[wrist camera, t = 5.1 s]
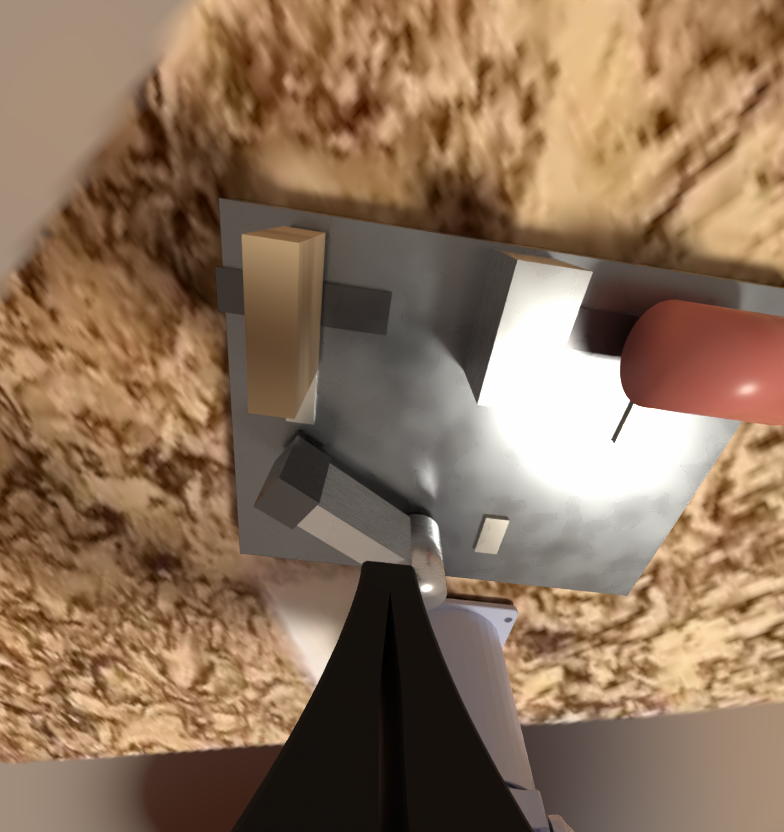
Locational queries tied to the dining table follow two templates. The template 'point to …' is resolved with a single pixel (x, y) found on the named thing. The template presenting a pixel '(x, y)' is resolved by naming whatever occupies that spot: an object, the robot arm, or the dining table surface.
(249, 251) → the paddle
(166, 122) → the dining table surface
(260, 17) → the dining table surface
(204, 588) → the dining table surface
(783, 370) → the red short cylinder
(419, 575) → the lever
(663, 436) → the panel
